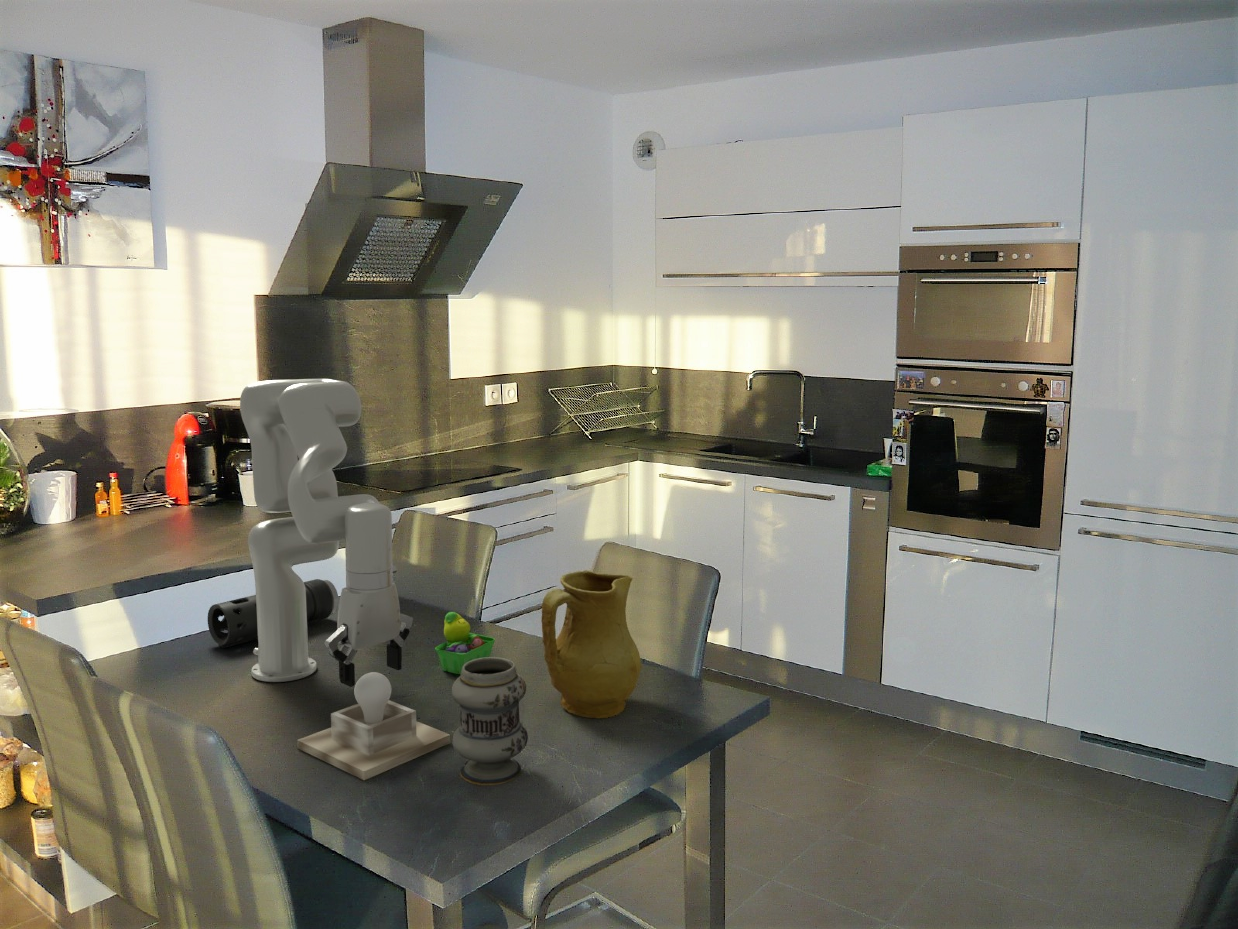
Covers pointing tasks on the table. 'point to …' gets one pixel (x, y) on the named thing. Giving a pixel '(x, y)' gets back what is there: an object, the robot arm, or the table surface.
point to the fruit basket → (461, 644)
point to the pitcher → (591, 644)
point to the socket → (373, 740)
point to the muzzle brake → (244, 613)
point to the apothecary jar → (489, 720)
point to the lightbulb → (372, 696)
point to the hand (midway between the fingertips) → (371, 676)
